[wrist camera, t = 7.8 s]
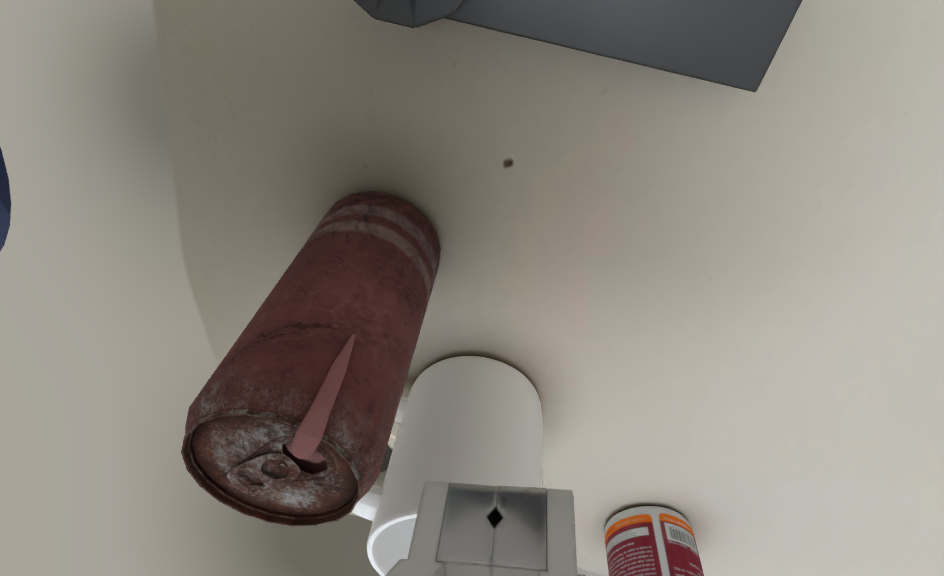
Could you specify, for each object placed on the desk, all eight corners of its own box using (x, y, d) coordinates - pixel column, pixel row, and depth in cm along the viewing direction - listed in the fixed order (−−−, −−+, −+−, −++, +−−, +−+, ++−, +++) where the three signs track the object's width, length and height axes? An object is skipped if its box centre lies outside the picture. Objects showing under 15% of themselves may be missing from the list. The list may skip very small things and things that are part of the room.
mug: (344, 409, 35) (282, 566, 27) (362, 316, 30) (293, 471, 22) (518, 455, 36) (511, 621, 27) (562, 372, 31) (569, 542, 23)
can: (463, 216, 26) (403, 456, 14) (415, 306, 29) (336, 555, 18) (346, 160, 25) (182, 371, 13) (311, 260, 28) (157, 494, 17)
